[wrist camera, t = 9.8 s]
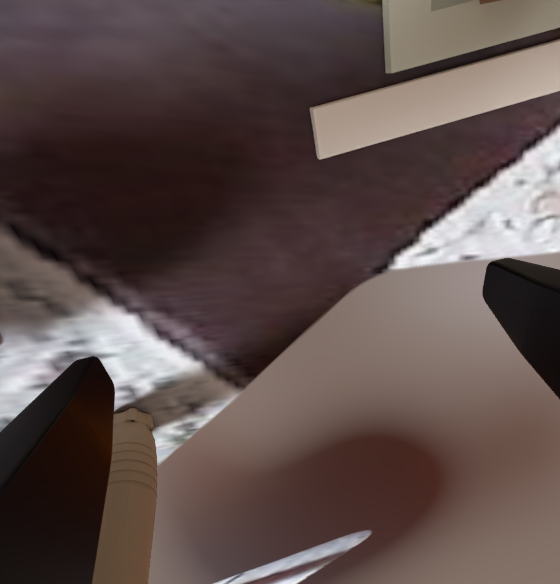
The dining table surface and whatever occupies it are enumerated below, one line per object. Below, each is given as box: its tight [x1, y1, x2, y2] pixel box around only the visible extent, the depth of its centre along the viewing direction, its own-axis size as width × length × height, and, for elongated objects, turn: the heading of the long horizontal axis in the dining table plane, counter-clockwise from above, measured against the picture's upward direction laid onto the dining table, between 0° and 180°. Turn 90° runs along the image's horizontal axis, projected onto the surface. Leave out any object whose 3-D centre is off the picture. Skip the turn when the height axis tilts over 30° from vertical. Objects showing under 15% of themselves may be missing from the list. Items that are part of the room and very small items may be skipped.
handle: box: [92, 408, 157, 584], centre depth 20 cm, size 5×6×15 cm
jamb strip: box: [310, 39, 560, 160], centre depth 19 cm, size 16×2×1 cm, turn 102°
